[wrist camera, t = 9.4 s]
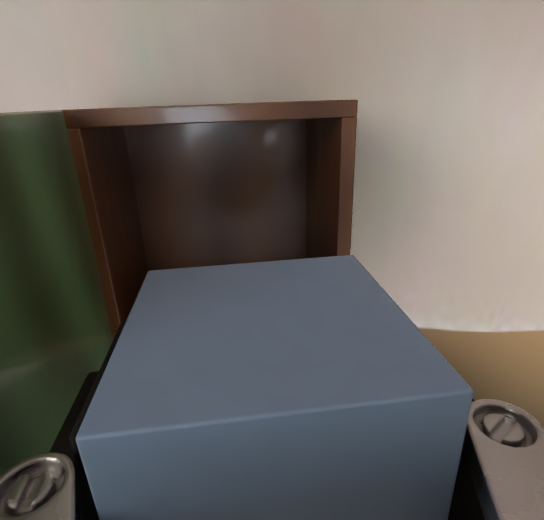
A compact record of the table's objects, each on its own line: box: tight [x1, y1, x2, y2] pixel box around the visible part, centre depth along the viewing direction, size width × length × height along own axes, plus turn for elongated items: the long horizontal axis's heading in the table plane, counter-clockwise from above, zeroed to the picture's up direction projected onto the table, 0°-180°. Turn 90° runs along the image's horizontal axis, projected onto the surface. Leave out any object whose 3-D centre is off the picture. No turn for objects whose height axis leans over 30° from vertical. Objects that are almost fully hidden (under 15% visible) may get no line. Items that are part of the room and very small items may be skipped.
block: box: [76, 255, 473, 520], centre depth 9 cm, size 5×5×5 cm
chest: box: [61, 100, 358, 339], centre depth 25 cm, size 14×13×9 cm
